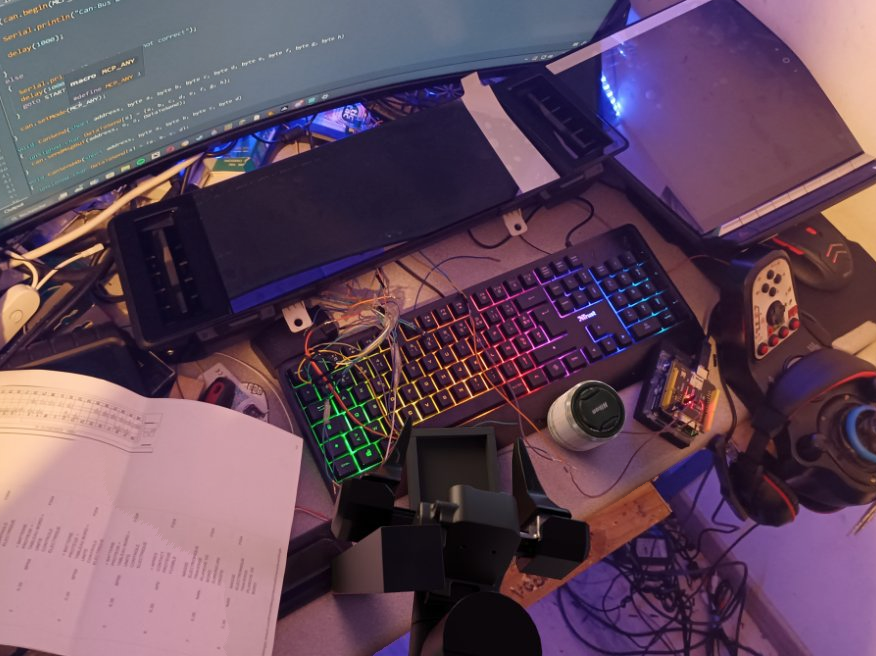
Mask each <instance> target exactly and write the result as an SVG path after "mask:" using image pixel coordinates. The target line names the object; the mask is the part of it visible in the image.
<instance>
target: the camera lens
mask: <svg viewBox="0 0 876 656" xmlns="http://www.w3.org/2000/svg"><path fill="white" fill-rule="evenodd" d="M546 421H547V427H548V431H549V433H550V435H551V437H552V438H553V439H554V440H555V442H556V443H557V444H558V445H559V446H561V447H563V448H564V449H567V450H569V451H573V452H585V451H590V450H592V449H594V448H596V447H599V446H600V445H603V444H605V443H607V442H609V441H611V440H613V439H615V438H617V437H618V436H619V435H620V434H621V433H622V431H623V430H624V427H625V425H626V421H627V410H626V406H625V403H624V400H623V398H622V397H621V395H620V394H619V393H618V392H617V391H616V390H615V388H613V387H612V386H611V385H610V384H607V383H606V382H603V381H600V380H595V379H590V380H584V381H580V382H578V383H577V384H576V385H574V386H573V387H571V388H570V389H568V390H567V391H566V392H565V393H563V394H562V395H560V396H558V397H557V399H555V401H553V403H552V404H551V406H550V408H549V410H548V413H547V419H546Z"/></svg>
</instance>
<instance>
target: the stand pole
mask: <svg viewBox="0 0 876 656" xmlns="http://www.w3.org/2000/svg"><path fill="white" fill-rule="evenodd" d="M430 590H445V575H444V562H443V550H442V537H441V525H440V524H425V525H403V526H382V527H380V528H379V529H377V530H376V531H374V532H373V533H371V534H370V535H368V536H367V537H365V538H364V539H362V540H361V541H359V542H358V543H354V544H353V545H352V546H350V547H349V548H347V549H346V550H345V551H343V552H341V553H340V554H339V555H337V556H336V557H334V558H332V559H331V594H332V595H358V594H359V595H360V594H394V593H395V594H396V593H410V592H413V593H414V591H430Z"/></svg>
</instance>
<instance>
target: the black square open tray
mask: <svg viewBox="0 0 876 656" xmlns="http://www.w3.org/2000/svg"><path fill="white" fill-rule="evenodd" d="M405 463H406V479H407V480H406V481H407V494H408V495H407V496H408V509H412V510H417V508H418V505H419V503H420V502H425V503H431V504H434V503H435V501H436V500H439V501H444V502H445V499H446V495H447V492H448V490H449V489H450V488H452V487H453V486H456V485H468V486H471V487H473V488H474V489H477V490H483V491H488V492H493V493H498V492H502V486H501V477H500V467H499V460H498V451H497V441H496V433H495V427H494V426H473V427H472V426H471V427H466V426H465V427H435V428H433V427H432V428H431V427H429V428H412V433H411V437H410V441H409V445H408V449H407V453H406V457H405Z"/></svg>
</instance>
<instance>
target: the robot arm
mask: <svg viewBox="0 0 876 656" xmlns="http://www.w3.org/2000/svg"><path fill="white" fill-rule="evenodd" d="M413 423H414V416H413V415H407V417H406V420H405V422H404V424H403V425H402V428H401V430H400V432H399V434H398V436H397V439H396V440H395V443H394V445H393V446H392V449H391V451H390V452H389V454H388V456H387V457H386V459H385V460H384V461H383V463H381V466H380V467H379V468H378V469H377V470H376V471H363V472H361V474H360V476H359V478H356V477H352V476H351V477H346V478H343V479H342V481H341V483H340V487H339V490H338V493H337V497H336V500H335V503H334V507H333V513H332V518H331V519H332V520H331V525H330V527H331V528H330V530H331V532H332V534H333V535H334V537H335V539H336V540H338V541H339V540H340V541H345V542H349V543H354V544H357V543H358V542H359V541H361V540H362V539H364V538H365V537H367V536H368V535H370V534H371V533H373V532H374V531H376V530H377V529H379V528H380V527H382V526H403V525H425V524H440V525H441V537H442V550H443V562H444V575H445V590H430V591H413V600H412V610H411V618H410V619H411V621H410V632H409V643H408V651H407V652H408V655H407V656H543V646H542V640H541V639H542V638H541V635H540V633H539V630H538V627H537V625H536V623H535V621H534V620H533V618H532V616H531V615H530V613H529V612H528V611H527V610H526V609H525V608H524V606H523V605H521V604H520V603H519V602H518V601H517V600H515V599H514V598H513V597H511V596H508V595H506V594H505V593H502V592H501V588H502V585H503V582H504V579H505V576H506V574H507V571H508V570H509V568H510V566H511V564H512V561H513V559H514V557H515V566H516V569H517V572H518V573H520V574H523V575H524V574H525V575H531V576H536V577H539V578H540V577H541V578H547V579H551V580H558V581H562V580H564V578H566V577H568V575H569V574H571V573H572V572H573V571H574V570H576V569H577V568H578V567H579V566H580V565H582V564H583V563H584V562H585V561H586V560H588V559H589V556H590V552H591V547H592V545H591V544H592V543H591V541H592V540H591V528H590V527H591V525H590V524H589V523H587V521H585V520H579V519H574V518H573V515H572V512H571V511H570V510H569V509H567V508H565V507H561V506H559V505H558V504H557V503H556V502H554V501H553V500H551V498H550V497H549V496H548V495H547V493H546V491H545V489H544V488H543V485H542V484H541V482H540V479H539V477H538V475H537V473H536V469H535V467H534V464H533V462H532V459H531V457H530V454H529V451H528V448H527V447H526V444H525V441H524V439H523V437H522V436H517V437H516V438H515V439H514V441H513V443H512V444H513V446H512V452H511V453H512V454H511V493H508V492H505V491H501V492H498V493H493V492H488V491H483V490H477V489H474V488H473V487H471V486H468V485H456V486H453V487H452V488H450V489H449V490H448V492H447V495H446V499H445V502H444V501H439V500H436V501H435V503H434V504H431V503H425V502H420V503H419V505H418V508H417V510H412V509H409V508H406V507H402V506H395V501H396V493H397V491H398V489H399V487H400V485H401V483H402V475H403V468H404V465H405V462H406V453H407V449H408V445H409V441H410V437H411V433H412V429H413V425H414V424H413Z"/></svg>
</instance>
